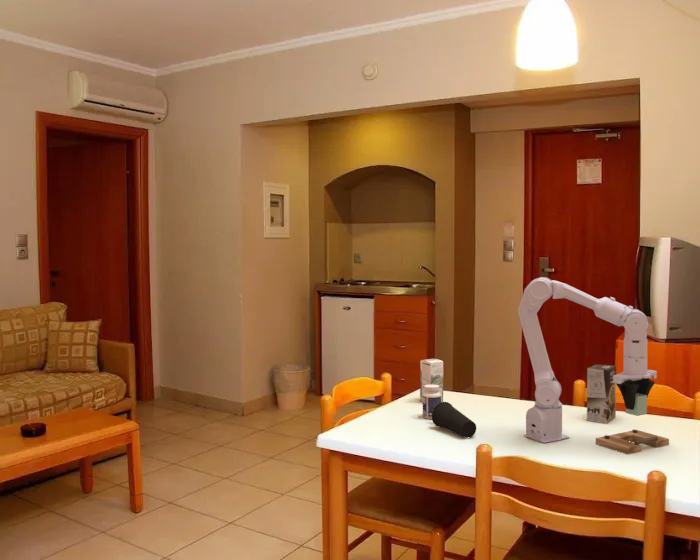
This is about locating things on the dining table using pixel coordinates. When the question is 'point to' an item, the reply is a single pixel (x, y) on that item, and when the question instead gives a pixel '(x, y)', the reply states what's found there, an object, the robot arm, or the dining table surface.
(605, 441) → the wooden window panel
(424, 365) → the syrup box
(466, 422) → the drinking cup
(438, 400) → the pill bottle
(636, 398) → the green block
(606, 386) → the coffee box
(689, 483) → the dining table surface
